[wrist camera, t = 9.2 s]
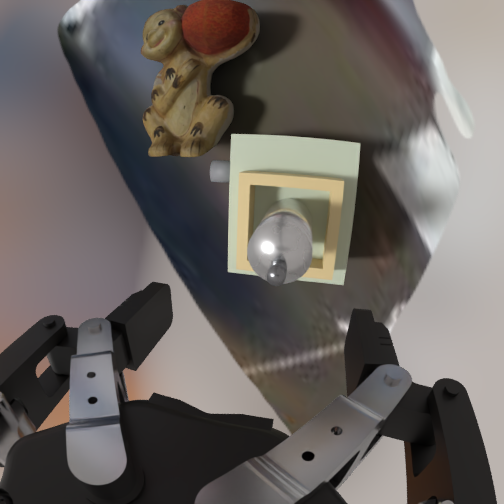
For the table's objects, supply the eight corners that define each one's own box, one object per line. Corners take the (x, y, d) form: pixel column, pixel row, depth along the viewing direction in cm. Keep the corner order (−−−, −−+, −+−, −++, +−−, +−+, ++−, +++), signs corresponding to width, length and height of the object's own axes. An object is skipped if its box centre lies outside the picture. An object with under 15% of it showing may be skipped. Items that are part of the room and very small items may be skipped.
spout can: (266, 196, 28) (242, 225, 18) (313, 200, 27) (315, 231, 17) (265, 241, 30) (241, 290, 20) (309, 245, 29) (308, 297, 19)
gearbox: (224, 136, 35) (191, 133, 25) (350, 144, 32) (364, 142, 22) (222, 247, 39) (192, 279, 30) (338, 259, 37) (344, 298, 27)
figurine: (122, 162, 30) (124, 2, 22) (157, 154, 38) (156, 22, 30) (255, 155, 28) (252, -24, 20) (266, 150, 36) (263, 6, 28)
